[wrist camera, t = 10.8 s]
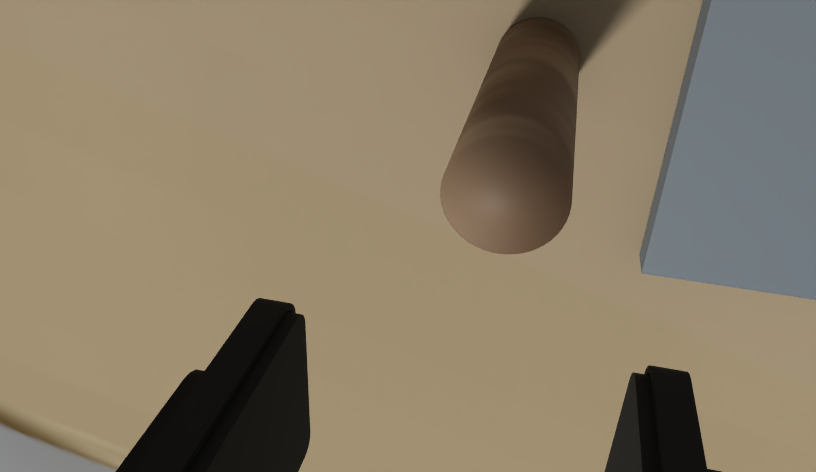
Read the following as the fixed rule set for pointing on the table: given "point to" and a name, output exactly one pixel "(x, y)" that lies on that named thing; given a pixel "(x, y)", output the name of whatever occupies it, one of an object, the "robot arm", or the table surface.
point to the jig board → (742, 154)
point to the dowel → (518, 144)
